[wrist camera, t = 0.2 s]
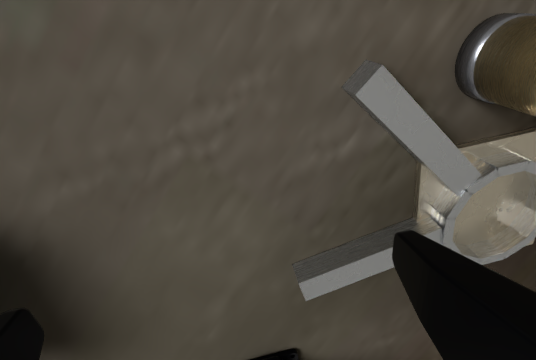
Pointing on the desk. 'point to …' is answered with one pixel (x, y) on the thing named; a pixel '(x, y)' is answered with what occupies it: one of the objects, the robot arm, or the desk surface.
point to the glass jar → (500, 62)
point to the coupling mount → (437, 190)
